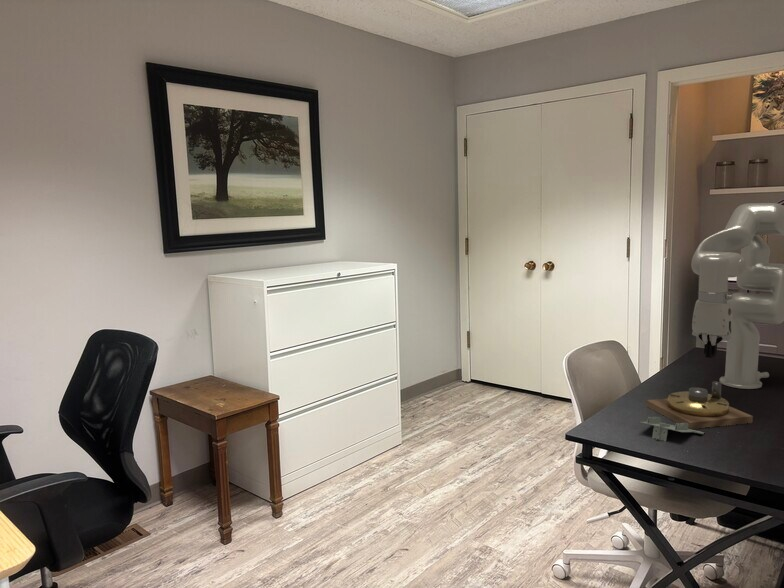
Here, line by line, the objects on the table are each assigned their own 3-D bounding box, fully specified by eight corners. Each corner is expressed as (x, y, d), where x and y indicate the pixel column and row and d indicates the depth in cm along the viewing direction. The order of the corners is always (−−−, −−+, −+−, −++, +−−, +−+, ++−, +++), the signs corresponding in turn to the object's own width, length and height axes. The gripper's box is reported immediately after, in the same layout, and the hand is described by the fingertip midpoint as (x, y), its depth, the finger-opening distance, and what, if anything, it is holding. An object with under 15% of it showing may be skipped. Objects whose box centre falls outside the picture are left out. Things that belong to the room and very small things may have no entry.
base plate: (703, 400, 190) (703, 394, 189) (752, 422, 170) (752, 415, 170) (646, 406, 186) (646, 399, 186) (690, 429, 166) (690, 422, 166)
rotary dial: (738, 407, 176) (739, 385, 175) (712, 420, 167) (713, 397, 166) (684, 394, 189) (685, 374, 188) (657, 406, 179) (658, 384, 178)
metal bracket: (690, 426, 154) (632, 413, 165) (686, 449, 154) (629, 434, 164) (707, 426, 164) (651, 414, 175) (704, 447, 164) (648, 434, 175)
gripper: (745, 297, 174) (742, 358, 178) (692, 292, 185) (690, 350, 189) (735, 301, 170) (732, 364, 173) (681, 296, 181) (679, 355, 184)
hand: (710, 356), depth 181 cm, fingers closed
